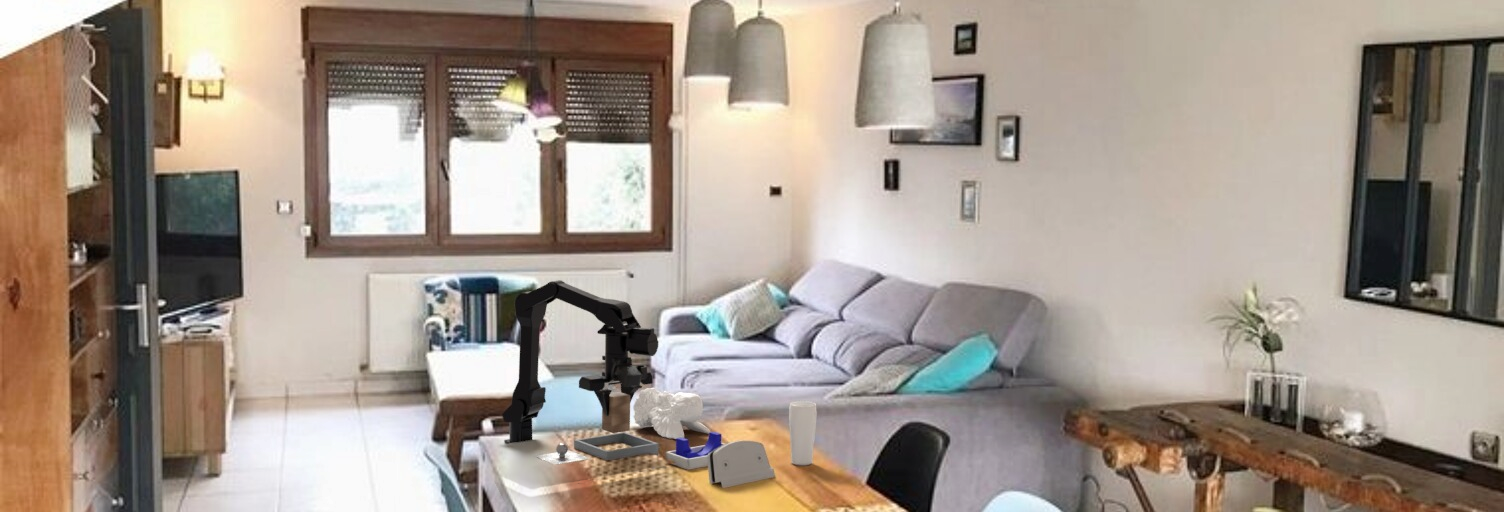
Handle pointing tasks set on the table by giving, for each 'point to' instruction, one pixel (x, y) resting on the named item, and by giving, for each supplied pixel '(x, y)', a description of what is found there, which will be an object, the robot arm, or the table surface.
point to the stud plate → (561, 456)
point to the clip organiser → (686, 462)
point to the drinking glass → (802, 431)
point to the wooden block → (617, 413)
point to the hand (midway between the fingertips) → (615, 414)
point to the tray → (636, 448)
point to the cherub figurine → (669, 412)
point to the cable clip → (711, 444)
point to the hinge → (738, 463)
